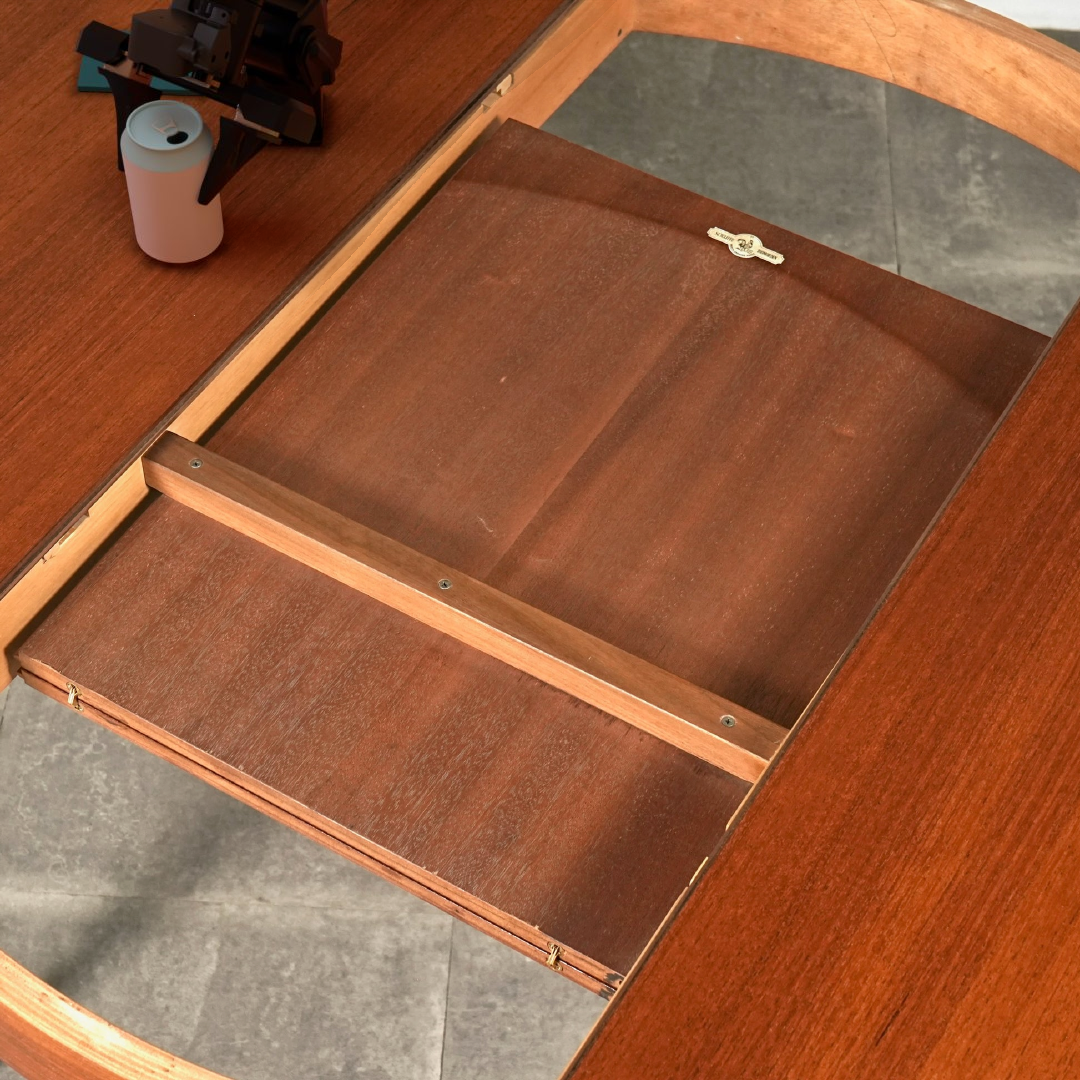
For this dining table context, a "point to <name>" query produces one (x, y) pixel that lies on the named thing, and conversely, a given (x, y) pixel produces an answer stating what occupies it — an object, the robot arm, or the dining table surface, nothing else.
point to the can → (170, 181)
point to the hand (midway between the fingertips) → (162, 187)
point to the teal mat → (99, 83)
